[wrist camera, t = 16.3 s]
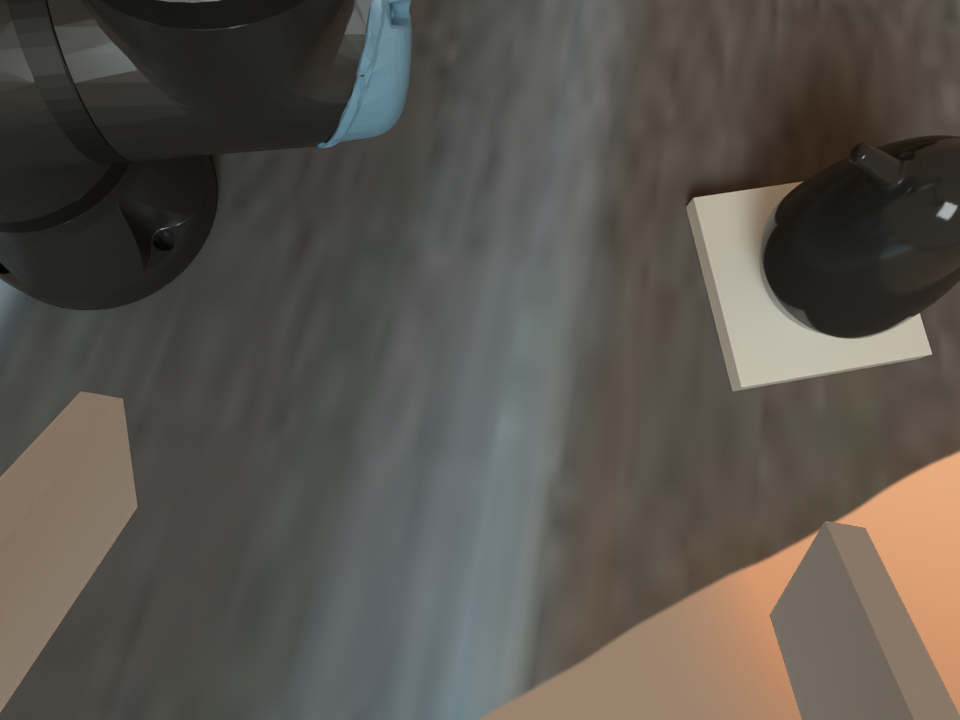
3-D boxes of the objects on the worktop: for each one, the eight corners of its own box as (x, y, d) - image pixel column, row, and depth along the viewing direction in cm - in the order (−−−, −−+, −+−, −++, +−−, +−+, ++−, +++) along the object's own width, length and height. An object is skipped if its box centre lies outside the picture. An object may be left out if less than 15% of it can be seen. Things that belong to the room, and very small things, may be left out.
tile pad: (685, 207, 50) (693, 197, 48) (862, 180, 51) (875, 170, 50) (732, 391, 47) (741, 387, 46) (917, 359, 49) (932, 354, 47)
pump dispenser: (749, 185, 49) (886, 42, 34) (898, 228, 49) (1100, 104, 34) (718, 325, 47) (849, 238, 32) (874, 371, 47) (1078, 305, 32)
